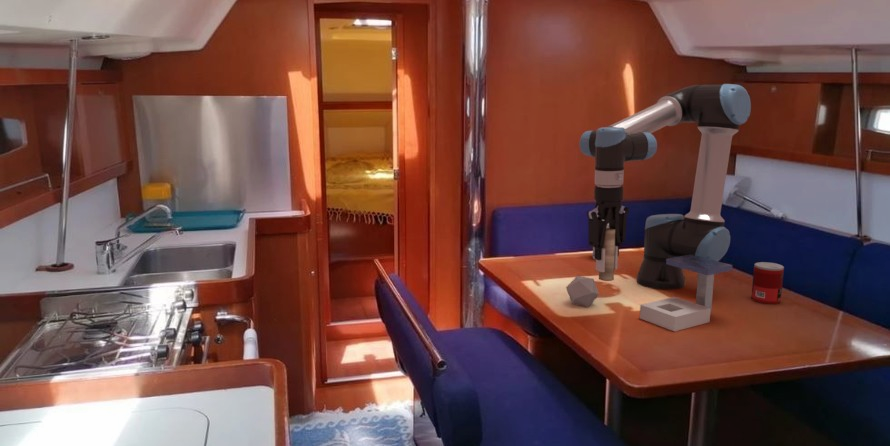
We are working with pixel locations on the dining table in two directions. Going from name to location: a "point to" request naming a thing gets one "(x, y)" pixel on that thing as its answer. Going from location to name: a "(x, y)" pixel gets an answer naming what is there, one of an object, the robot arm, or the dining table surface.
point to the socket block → (675, 313)
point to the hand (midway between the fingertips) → (606, 269)
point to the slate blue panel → (701, 274)
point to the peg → (608, 255)
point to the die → (582, 291)
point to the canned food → (767, 282)
